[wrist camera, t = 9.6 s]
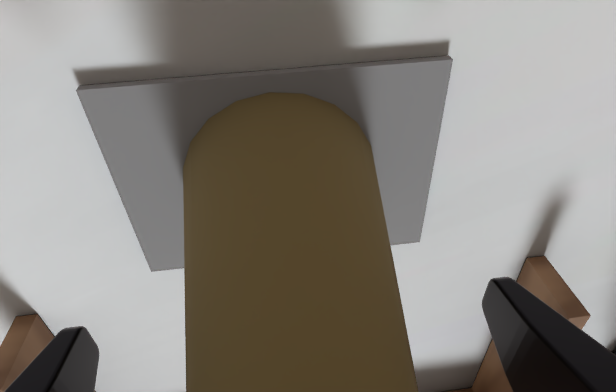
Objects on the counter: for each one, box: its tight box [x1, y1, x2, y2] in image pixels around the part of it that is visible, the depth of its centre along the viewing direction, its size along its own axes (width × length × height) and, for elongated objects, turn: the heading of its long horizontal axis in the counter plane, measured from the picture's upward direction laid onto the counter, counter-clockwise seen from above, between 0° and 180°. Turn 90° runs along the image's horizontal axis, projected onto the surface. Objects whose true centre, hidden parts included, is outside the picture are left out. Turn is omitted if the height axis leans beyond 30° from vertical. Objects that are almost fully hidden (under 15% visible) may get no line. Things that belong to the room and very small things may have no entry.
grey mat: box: [76, 56, 453, 272], centre depth 13 cm, size 10×7×1 cm
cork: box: [183, 92, 418, 392], centre depth 9 cm, size 6×6×11 cm
